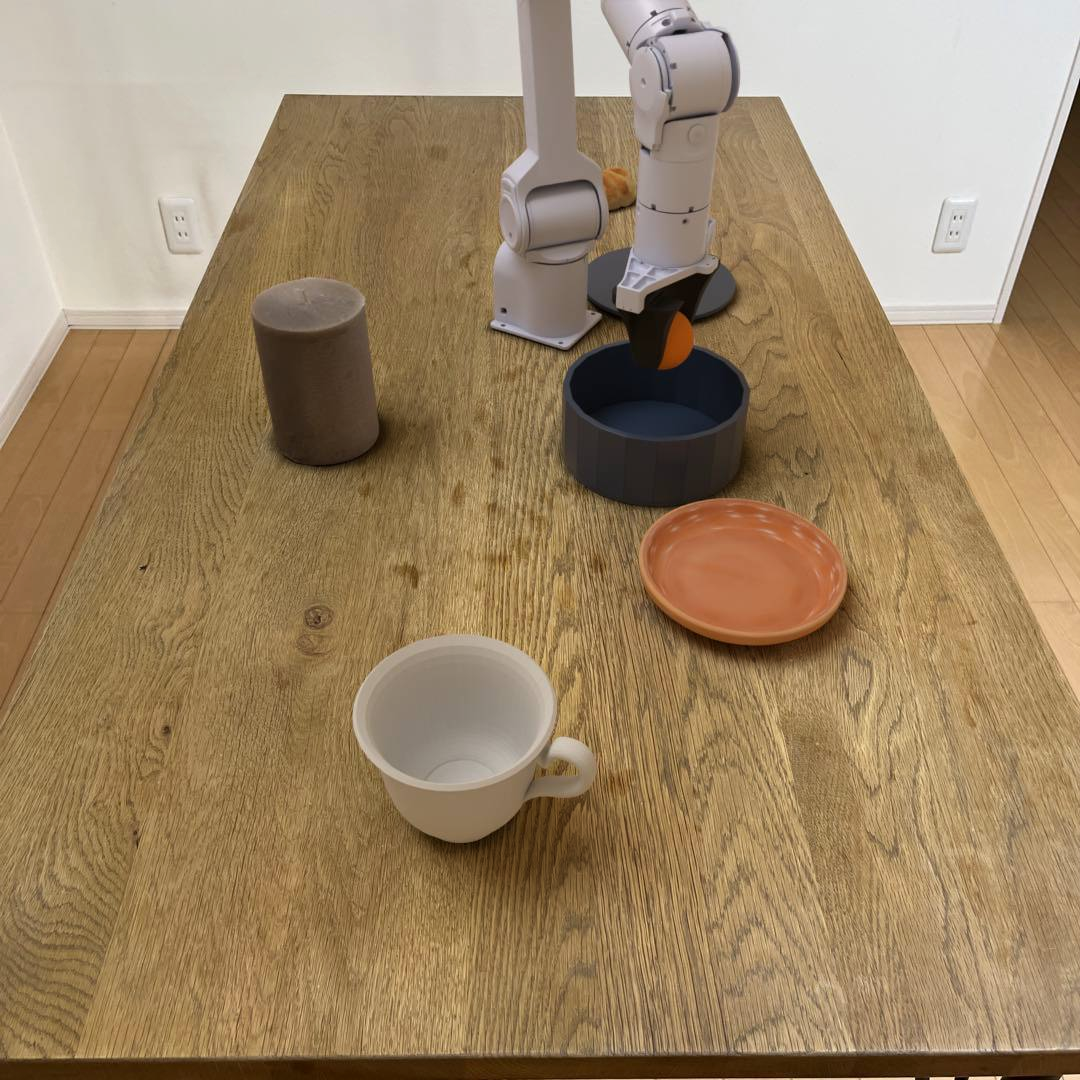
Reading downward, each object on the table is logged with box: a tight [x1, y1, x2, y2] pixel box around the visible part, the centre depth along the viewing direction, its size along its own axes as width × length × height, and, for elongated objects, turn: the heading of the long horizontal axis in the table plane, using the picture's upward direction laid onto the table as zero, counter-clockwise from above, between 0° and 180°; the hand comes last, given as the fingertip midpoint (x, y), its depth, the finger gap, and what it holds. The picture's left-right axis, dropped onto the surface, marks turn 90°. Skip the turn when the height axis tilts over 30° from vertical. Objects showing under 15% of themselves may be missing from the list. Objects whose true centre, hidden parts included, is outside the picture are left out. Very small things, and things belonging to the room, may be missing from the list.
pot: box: [560, 338, 751, 508], centre depth 99 cm, size 16×16×7 cm
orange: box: [658, 311, 695, 370], centre depth 94 cm, size 5×5×5 cm
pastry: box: [601, 165, 637, 211], centre depth 140 cm, size 9×7×4 cm
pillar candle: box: [250, 276, 380, 466], centre depth 98 cm, size 10×10×15 cm
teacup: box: [351, 633, 598, 844], centre depth 68 cm, size 12×15×10 cm
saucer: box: [638, 497, 848, 646], centre depth 86 cm, size 16×16×3 cm
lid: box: [587, 246, 737, 321], centre depth 123 cm, size 17×17×6 cm
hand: (660, 350), depth 95 cm, fingers closed on orange, 5 cm apart
